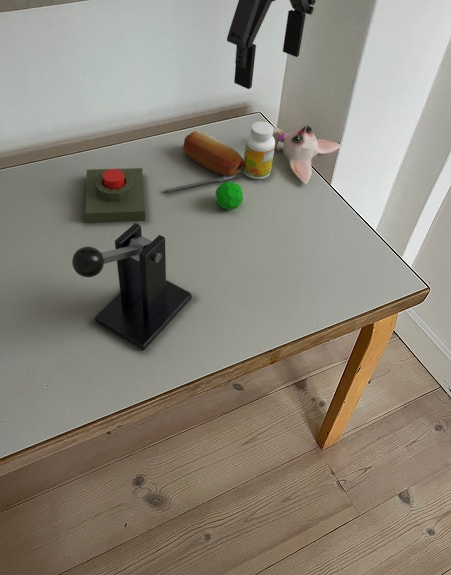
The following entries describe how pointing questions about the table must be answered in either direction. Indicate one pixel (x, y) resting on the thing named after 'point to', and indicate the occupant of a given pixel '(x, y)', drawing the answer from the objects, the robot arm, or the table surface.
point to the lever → (105, 256)
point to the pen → (201, 183)
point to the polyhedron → (229, 195)
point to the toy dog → (303, 150)
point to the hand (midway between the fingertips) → (267, 69)
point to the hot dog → (213, 154)
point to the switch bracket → (142, 294)
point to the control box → (114, 197)
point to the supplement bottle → (259, 151)
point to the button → (113, 179)
